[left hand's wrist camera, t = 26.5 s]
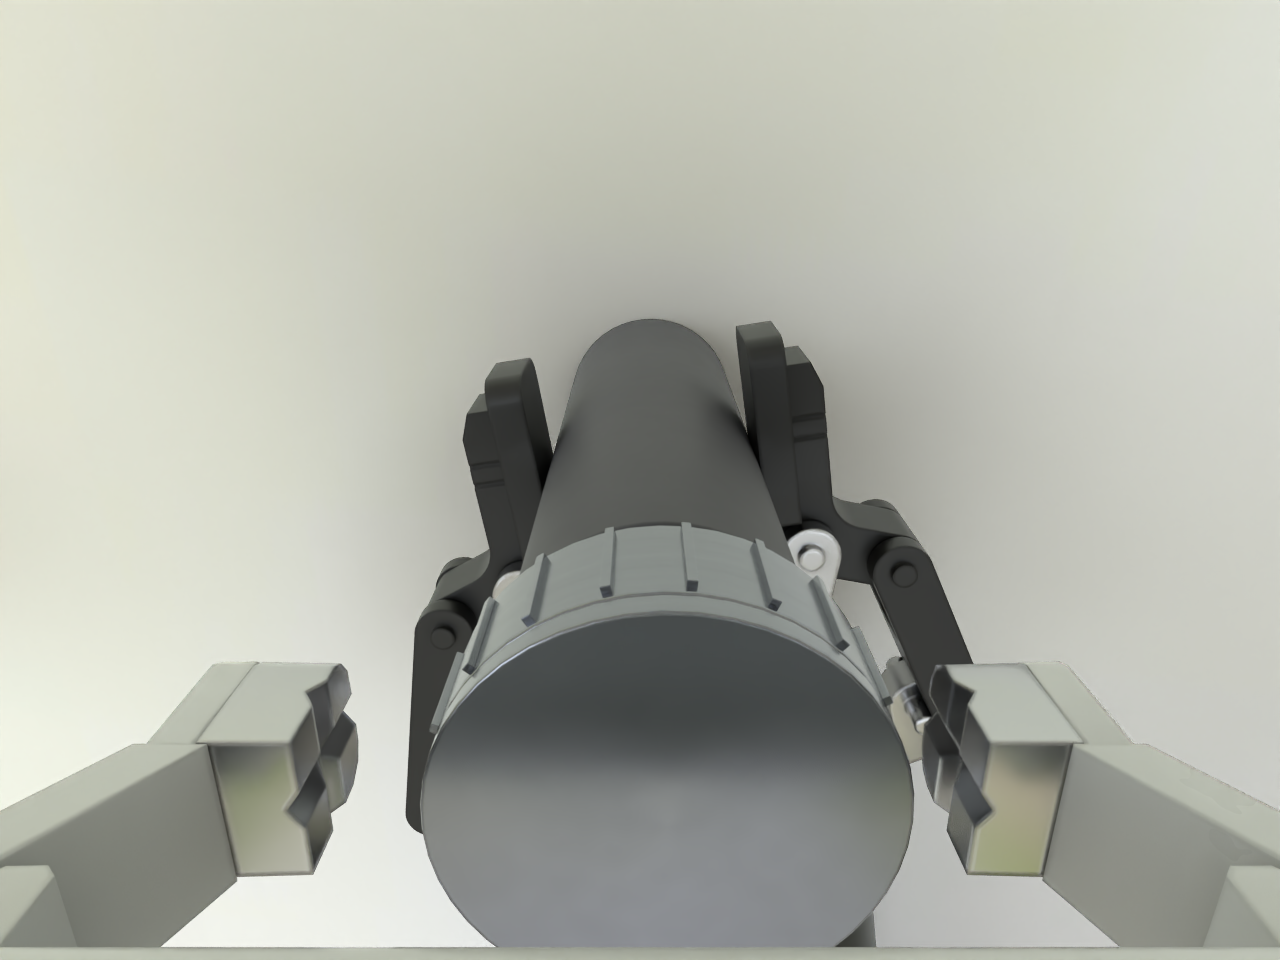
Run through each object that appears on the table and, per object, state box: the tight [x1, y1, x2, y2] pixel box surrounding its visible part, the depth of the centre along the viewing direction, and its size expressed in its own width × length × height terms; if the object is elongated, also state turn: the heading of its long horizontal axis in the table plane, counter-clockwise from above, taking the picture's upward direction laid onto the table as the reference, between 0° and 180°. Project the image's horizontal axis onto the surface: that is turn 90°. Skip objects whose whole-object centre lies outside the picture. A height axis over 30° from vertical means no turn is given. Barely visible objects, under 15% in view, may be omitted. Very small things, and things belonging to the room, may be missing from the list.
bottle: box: [520, 319, 795, 575], centre depth 17 cm, size 4×4×15 cm
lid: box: [420, 522, 914, 947], centre depth 10 cm, size 5×5×2 cm
